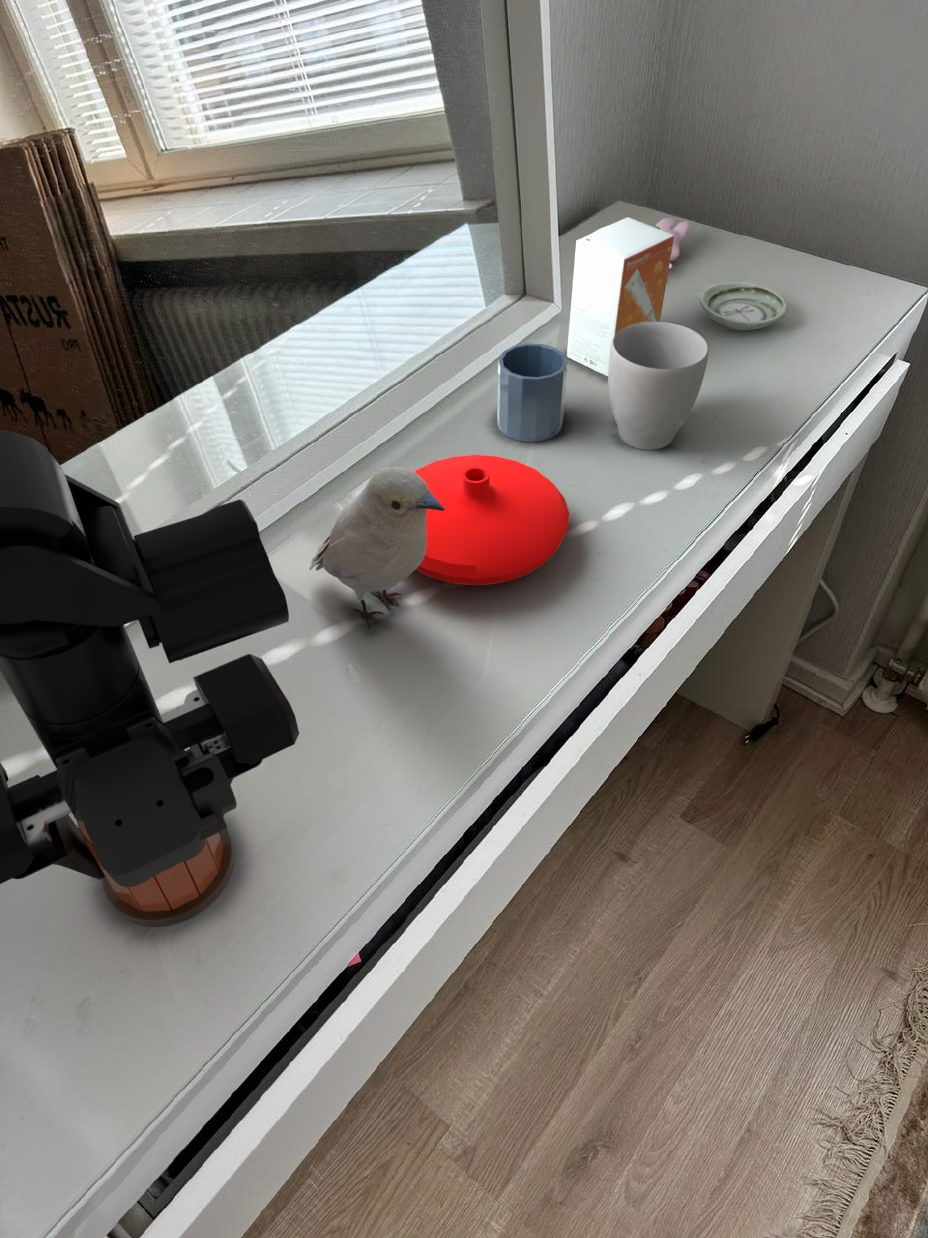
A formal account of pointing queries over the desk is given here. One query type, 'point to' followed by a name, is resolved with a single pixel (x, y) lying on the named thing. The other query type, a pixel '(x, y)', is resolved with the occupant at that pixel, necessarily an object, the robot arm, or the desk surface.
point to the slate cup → (531, 392)
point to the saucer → (743, 305)
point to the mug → (654, 380)
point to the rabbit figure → (678, 234)
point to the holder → (187, 909)
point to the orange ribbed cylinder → (169, 879)
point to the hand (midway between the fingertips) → (159, 843)
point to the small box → (615, 287)
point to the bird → (379, 535)
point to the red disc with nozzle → (490, 520)
